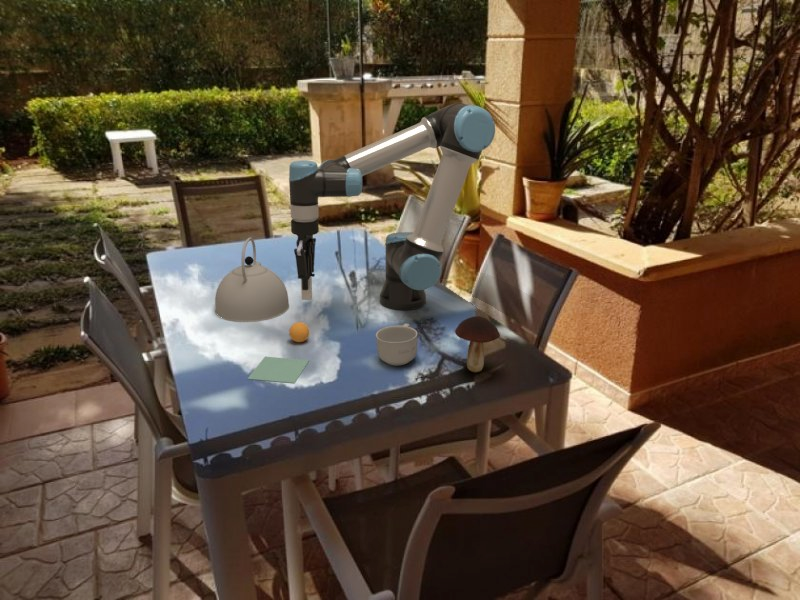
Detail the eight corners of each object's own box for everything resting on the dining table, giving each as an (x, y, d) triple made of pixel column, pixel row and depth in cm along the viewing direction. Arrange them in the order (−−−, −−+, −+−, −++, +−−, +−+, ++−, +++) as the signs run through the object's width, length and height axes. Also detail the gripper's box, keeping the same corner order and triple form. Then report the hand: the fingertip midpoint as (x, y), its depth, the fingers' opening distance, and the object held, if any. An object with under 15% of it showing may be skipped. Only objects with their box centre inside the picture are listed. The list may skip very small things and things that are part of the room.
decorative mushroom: (474, 357, 158) (478, 305, 152) (505, 373, 150) (510, 319, 144) (444, 369, 151) (446, 315, 146) (474, 386, 143) (478, 330, 138)
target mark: (309, 360, 154) (309, 360, 154) (294, 383, 143) (294, 382, 143) (265, 357, 156) (265, 356, 156) (247, 379, 145) (247, 378, 145)
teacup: (403, 374, 149) (403, 345, 146) (367, 362, 154) (367, 335, 151) (430, 353, 160) (431, 326, 157) (396, 343, 165) (396, 317, 162)
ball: (312, 337, 168) (311, 320, 166) (306, 346, 162) (305, 328, 160) (293, 336, 168) (292, 318, 166) (287, 344, 163) (286, 326, 161)
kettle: (227, 292, 200) (220, 228, 192) (294, 293, 201) (290, 228, 193) (207, 322, 177) (198, 250, 168) (283, 322, 178) (279, 250, 169)
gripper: (298, 212, 169) (301, 290, 177) (283, 223, 157) (287, 306, 165) (324, 214, 168) (325, 292, 176) (311, 225, 156) (313, 308, 164)
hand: (306, 298), depth 171 cm, fingers closed
